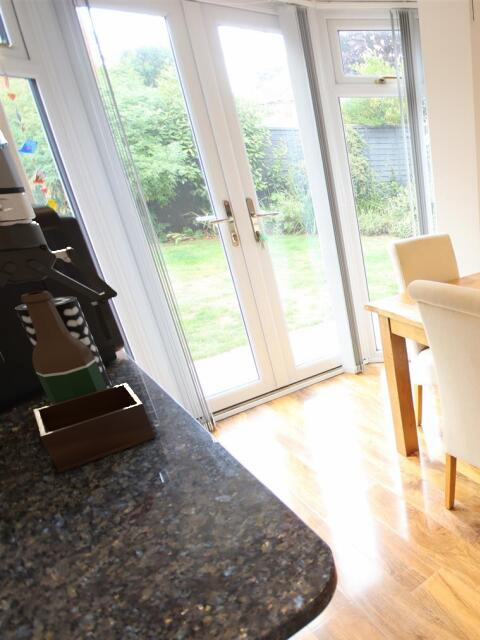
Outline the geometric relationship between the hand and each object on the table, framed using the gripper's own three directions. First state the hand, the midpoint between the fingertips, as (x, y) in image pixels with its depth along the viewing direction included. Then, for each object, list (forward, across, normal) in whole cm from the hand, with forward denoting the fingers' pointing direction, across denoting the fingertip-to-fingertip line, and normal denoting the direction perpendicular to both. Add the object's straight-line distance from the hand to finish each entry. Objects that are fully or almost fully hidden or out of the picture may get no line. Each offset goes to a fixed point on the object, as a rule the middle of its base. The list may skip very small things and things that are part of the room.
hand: (57, 349), depth 79 cm
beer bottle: (+14, 0, -1) cm, 14 cm away
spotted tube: (+14, +1, +10) cm, 18 cm away
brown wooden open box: (+14, 0, -12) cm, 18 cm away
